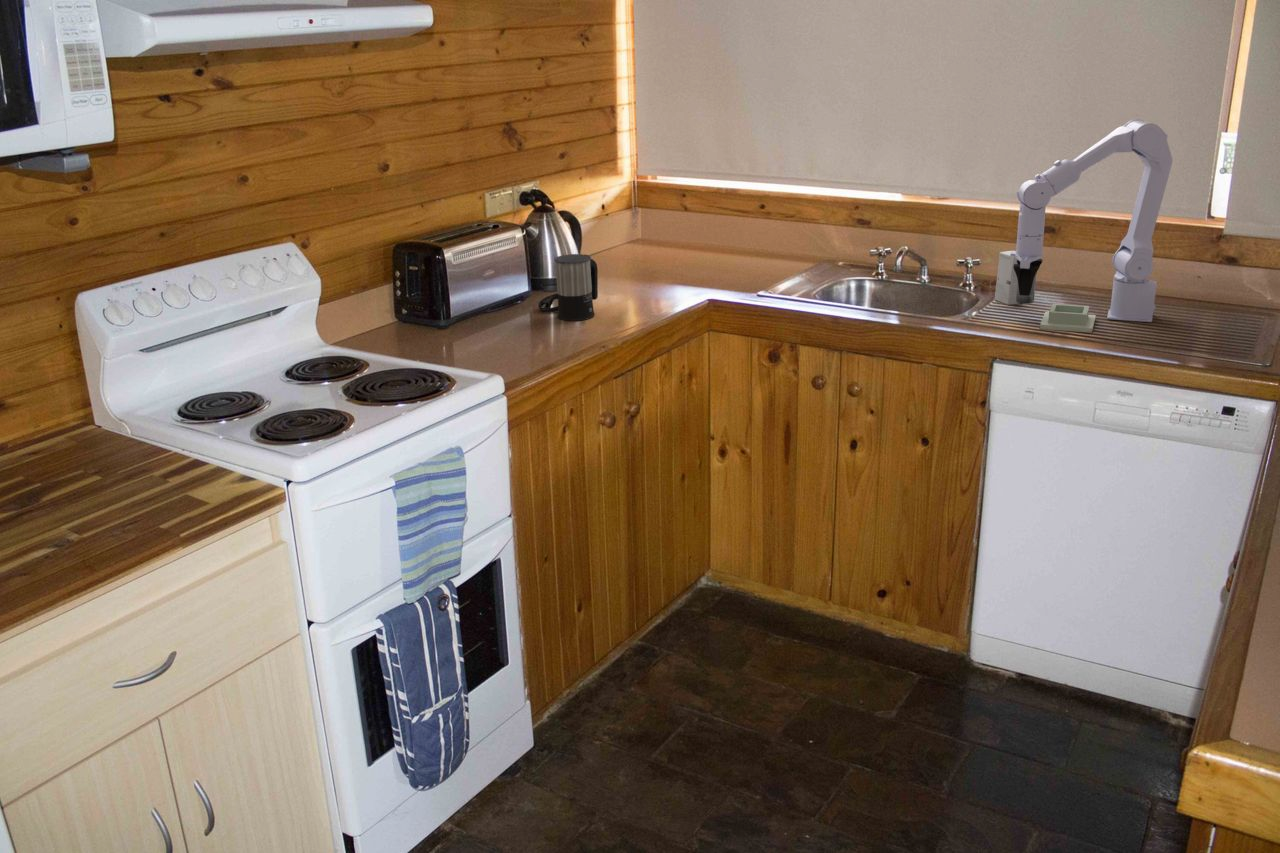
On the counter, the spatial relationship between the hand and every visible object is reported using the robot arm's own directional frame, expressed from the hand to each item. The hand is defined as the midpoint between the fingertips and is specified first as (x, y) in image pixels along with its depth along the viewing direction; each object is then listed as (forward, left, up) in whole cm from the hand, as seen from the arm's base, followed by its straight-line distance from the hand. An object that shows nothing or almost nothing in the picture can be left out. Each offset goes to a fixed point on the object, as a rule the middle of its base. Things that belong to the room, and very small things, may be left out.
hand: (1025, 292), depth 262 cm
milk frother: (+107, +27, -6) cm, 110 cm away
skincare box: (+5, -15, -6) cm, 17 cm away
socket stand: (-10, +2, -6) cm, 12 cm away
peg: (0, 0, -2) cm, 2 cm away
